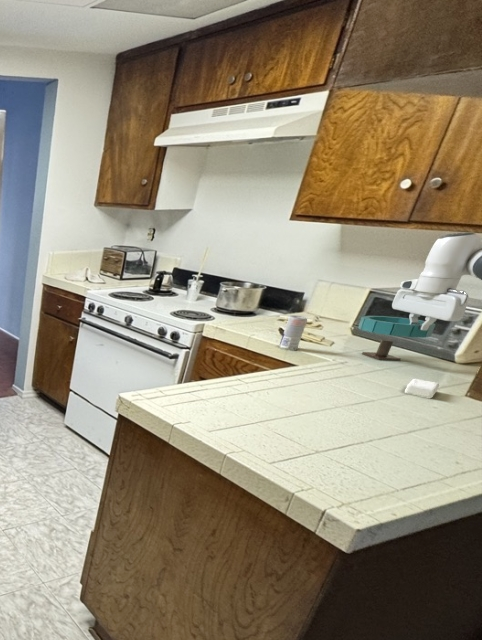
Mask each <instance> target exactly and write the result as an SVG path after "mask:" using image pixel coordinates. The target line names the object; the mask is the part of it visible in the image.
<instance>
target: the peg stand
mask: <svg viewBox="0 0 482 640" xmlns="http://www.w3.org/2000/svg"><path fill="white" fill-rule="evenodd" d="M393 344H394V340H392V339H386V338H382V339H381V341H380V343H379V345H378V347H377V350H376V352H371V351H362V353H361V355H362V356H366V357H369V358H372V359H374V360H377V361H389V362H390V361H392V362H400V361H401V358H400V357H397V356H394V355H391V354H389V353H390V351H391V348H392V347H393Z"/></svg>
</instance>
